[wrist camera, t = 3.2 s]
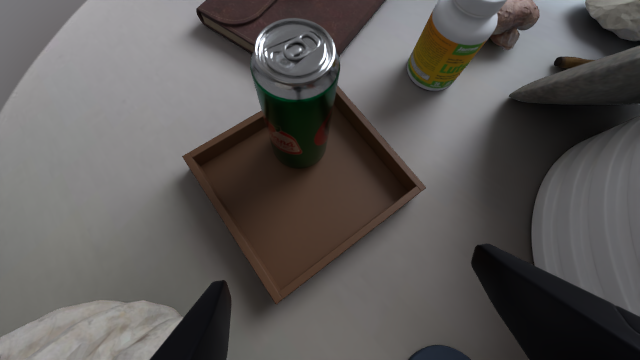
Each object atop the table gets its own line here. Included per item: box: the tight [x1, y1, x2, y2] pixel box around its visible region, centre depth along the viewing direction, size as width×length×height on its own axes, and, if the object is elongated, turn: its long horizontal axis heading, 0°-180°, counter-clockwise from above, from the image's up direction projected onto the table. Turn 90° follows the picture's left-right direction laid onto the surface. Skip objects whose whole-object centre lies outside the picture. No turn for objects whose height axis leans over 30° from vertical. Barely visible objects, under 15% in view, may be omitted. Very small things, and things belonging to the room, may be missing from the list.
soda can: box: [250, 18, 340, 169], centre depth 20 cm, size 5×5×12 cm
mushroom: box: [490, 0, 539, 50], centre depth 30 cm, size 8×6×8 cm
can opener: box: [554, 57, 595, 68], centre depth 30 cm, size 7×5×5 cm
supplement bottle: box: [407, 0, 507, 91], centre depth 25 cm, size 5×5×10 cm
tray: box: [182, 85, 426, 304], centre depth 24 cm, size 15×14×2 cm
